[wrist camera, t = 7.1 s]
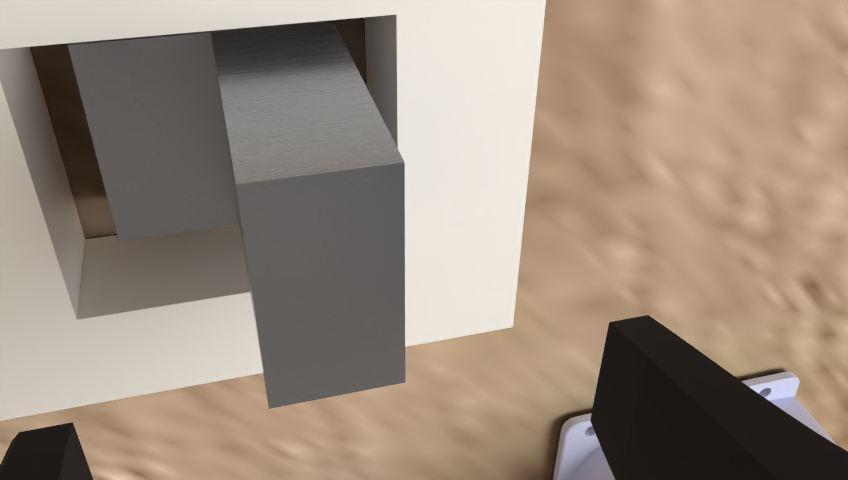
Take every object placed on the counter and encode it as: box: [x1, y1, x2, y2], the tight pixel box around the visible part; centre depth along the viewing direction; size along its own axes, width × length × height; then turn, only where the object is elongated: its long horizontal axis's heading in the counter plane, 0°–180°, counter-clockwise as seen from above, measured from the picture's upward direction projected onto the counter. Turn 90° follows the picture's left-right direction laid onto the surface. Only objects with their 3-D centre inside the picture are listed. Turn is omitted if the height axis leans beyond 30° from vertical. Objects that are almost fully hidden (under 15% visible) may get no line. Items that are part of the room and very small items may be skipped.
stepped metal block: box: [68, 20, 405, 409], centre depth 15 cm, size 5×4×8 cm
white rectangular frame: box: [0, 0, 546, 421], centre depth 17 cm, size 13×11×3 cm
